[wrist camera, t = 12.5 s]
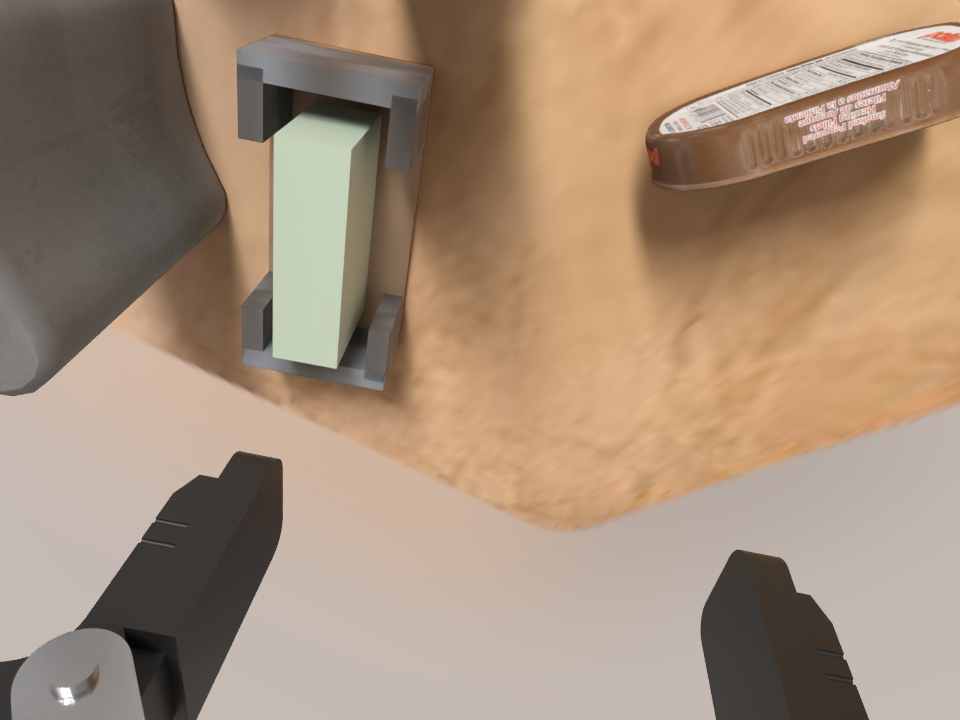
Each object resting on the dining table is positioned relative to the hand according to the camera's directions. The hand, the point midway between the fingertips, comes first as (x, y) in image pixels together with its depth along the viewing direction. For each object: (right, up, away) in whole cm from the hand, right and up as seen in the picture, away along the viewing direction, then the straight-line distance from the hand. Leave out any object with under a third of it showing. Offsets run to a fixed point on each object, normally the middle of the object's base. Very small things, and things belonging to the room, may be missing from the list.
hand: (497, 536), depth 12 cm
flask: (-18, +17, +26) cm, 36 cm away
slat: (-8, +12, +28) cm, 31 cm away
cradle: (-8, +12, +28) cm, 32 cm away
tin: (+15, +17, +23) cm, 32 cm away
